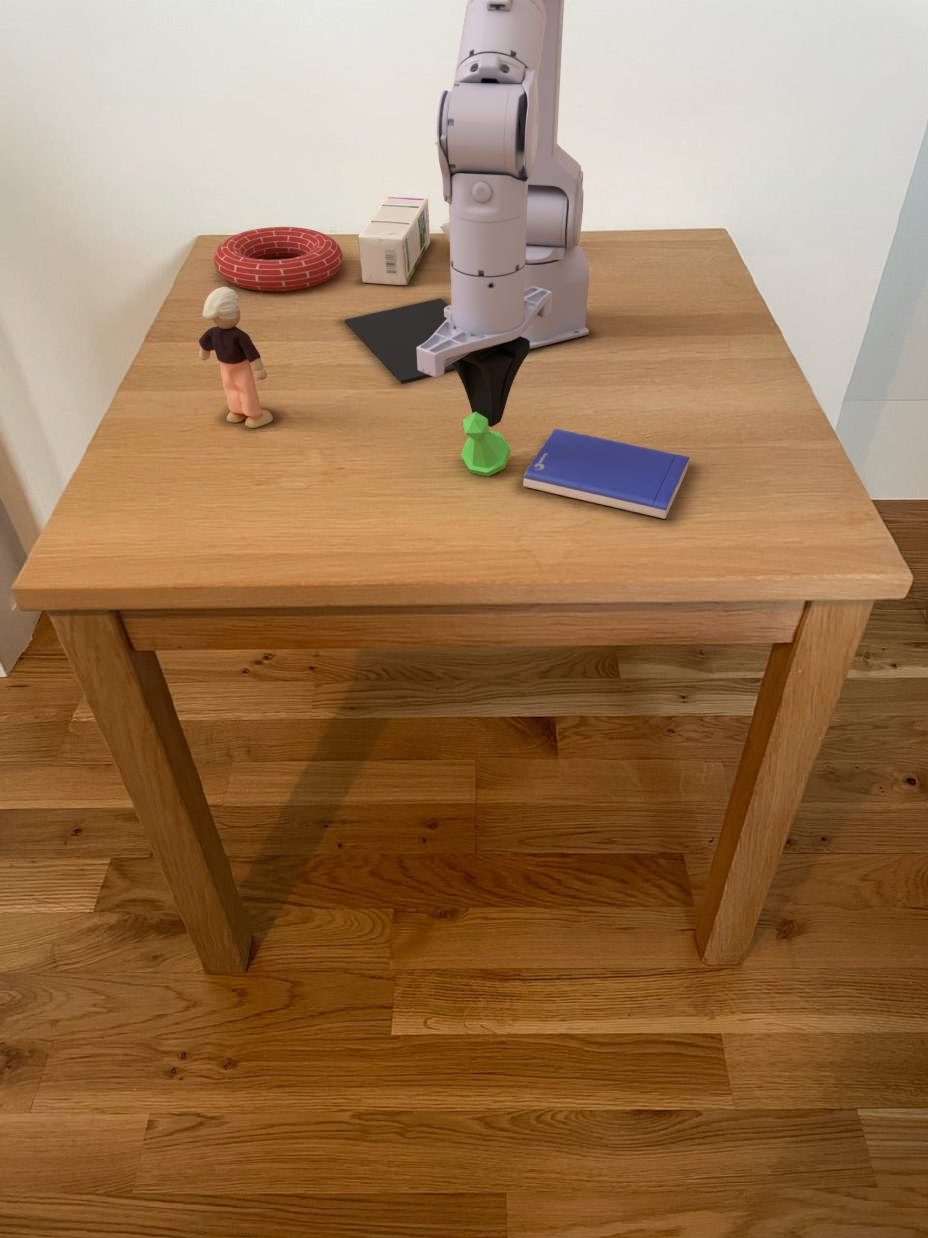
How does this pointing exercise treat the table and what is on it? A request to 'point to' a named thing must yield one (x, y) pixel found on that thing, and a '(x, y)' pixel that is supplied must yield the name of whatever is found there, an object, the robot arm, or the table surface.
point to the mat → (400, 335)
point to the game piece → (483, 447)
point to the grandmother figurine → (234, 358)
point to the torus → (309, 267)
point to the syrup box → (394, 240)
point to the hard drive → (607, 472)
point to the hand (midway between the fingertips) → (487, 420)
